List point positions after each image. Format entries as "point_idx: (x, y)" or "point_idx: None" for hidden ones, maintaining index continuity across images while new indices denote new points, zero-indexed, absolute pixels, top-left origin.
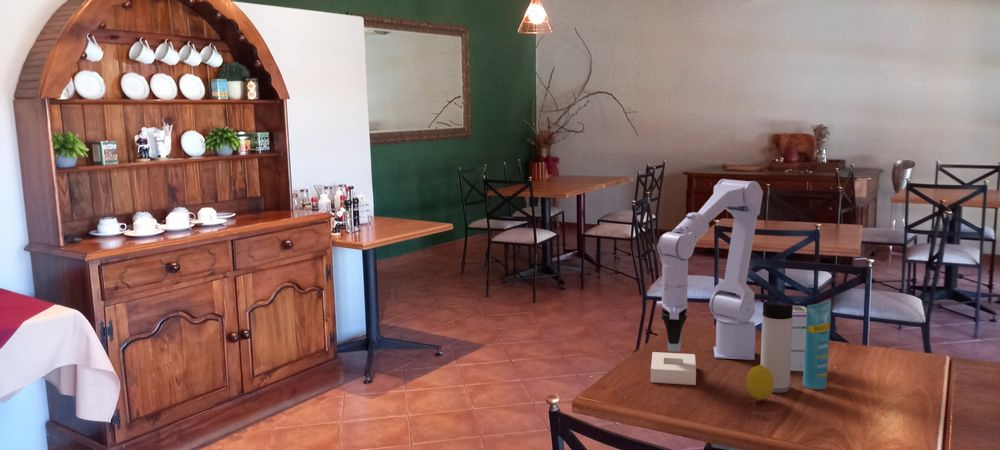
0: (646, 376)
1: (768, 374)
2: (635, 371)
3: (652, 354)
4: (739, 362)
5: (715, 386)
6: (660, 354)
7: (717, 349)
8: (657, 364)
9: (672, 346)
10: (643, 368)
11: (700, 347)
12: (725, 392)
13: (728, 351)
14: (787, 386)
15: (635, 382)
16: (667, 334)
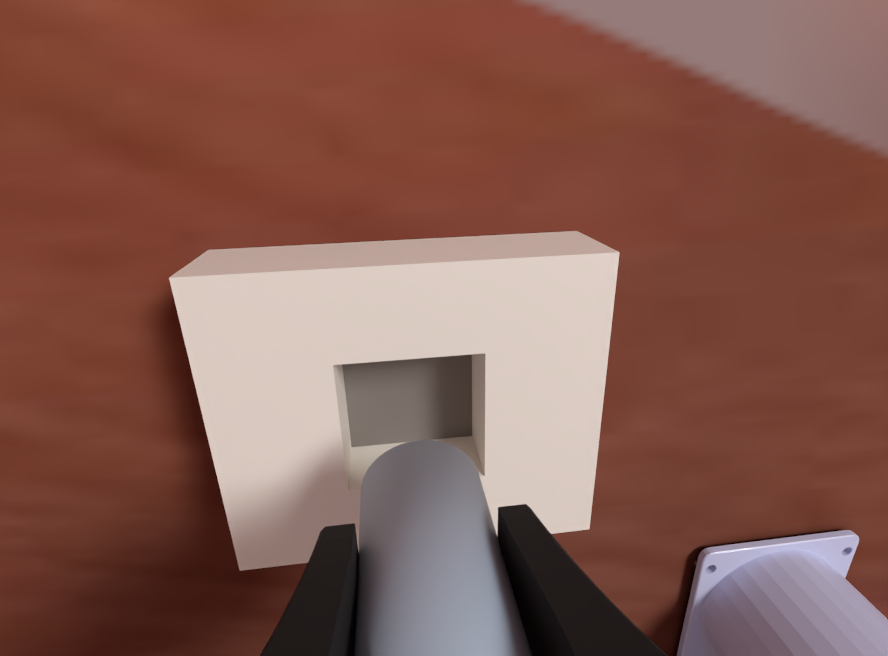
0: (323, 209)
1: None
2: (412, 113)
3: (556, 257)
4: (646, 633)
5: (276, 583)
6: (563, 320)
7: (767, 577)
8: (305, 320)
9: (362, 519)
10: (490, 172)
11: (879, 469)
12: (205, 627)
13: (720, 628)
14: None
15: (160, 134)
16: (284, 615)
